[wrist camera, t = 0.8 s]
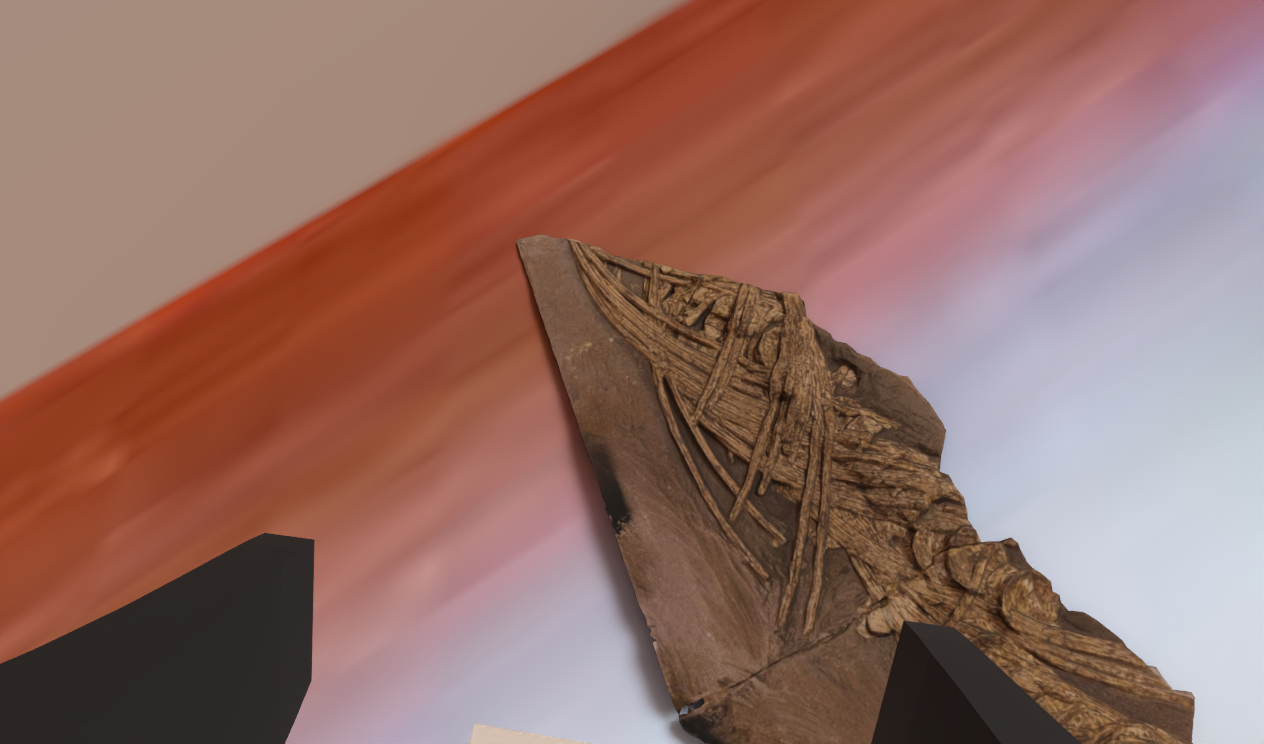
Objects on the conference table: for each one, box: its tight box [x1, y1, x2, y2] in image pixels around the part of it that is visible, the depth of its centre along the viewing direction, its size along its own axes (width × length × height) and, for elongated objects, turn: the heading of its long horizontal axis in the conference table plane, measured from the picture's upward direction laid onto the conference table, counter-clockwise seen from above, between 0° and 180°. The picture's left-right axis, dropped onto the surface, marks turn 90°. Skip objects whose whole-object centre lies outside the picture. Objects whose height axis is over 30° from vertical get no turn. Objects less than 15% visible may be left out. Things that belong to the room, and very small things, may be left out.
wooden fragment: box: [517, 235, 1195, 744], centre depth 26 cm, size 26×11×1 cm, turn 32°
